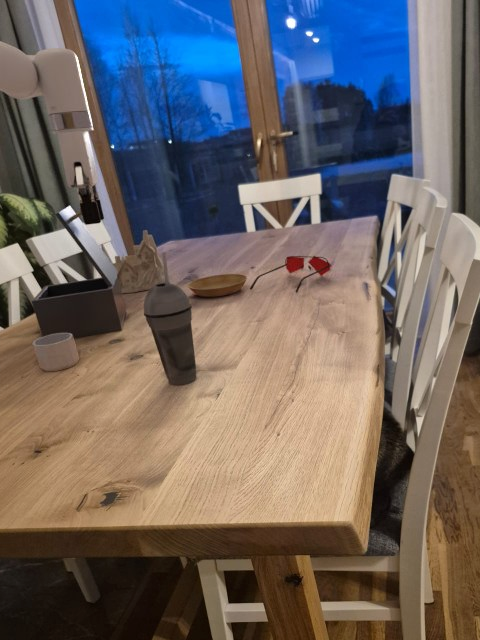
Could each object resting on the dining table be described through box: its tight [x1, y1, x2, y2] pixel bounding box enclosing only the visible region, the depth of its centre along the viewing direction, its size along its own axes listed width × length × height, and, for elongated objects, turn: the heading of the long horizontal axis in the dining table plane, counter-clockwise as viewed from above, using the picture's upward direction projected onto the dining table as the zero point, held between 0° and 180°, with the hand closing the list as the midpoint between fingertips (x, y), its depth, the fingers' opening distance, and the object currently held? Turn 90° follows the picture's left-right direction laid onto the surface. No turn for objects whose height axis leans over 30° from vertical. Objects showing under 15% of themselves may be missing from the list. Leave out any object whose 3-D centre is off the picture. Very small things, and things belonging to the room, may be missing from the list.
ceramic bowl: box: [31, 333, 80, 372], centre depth 105 cm, size 7×7×5 cm
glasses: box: [249, 255, 332, 294], centre depth 142 cm, size 14×16×5 cm
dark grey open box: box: [31, 276, 128, 339], centre depth 125 cm, size 16×14×9 cm
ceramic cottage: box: [112, 229, 170, 295], centre depth 156 cm, size 16×16×15 cm
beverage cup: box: [143, 252, 198, 386], centre depth 88 cm, size 7×7×20 cm
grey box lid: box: [54, 205, 118, 287], centre depth 120 cm, size 17×14×5 cm
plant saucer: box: [186, 273, 248, 298], centre depth 143 cm, size 15×15×3 cm
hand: (94, 221), depth 118 cm, fingers closed on grey box lid, 5 cm apart
